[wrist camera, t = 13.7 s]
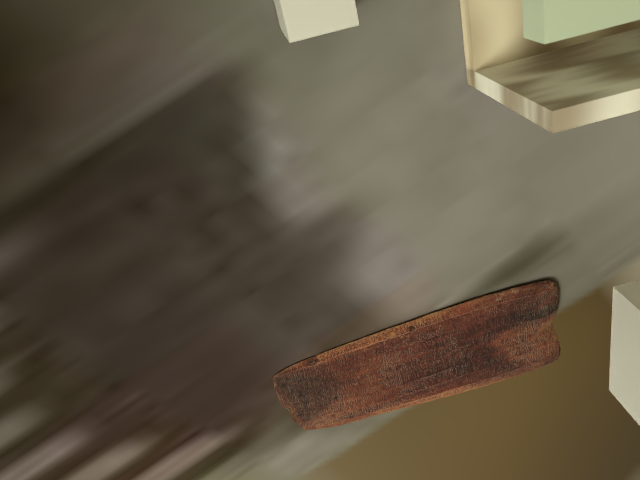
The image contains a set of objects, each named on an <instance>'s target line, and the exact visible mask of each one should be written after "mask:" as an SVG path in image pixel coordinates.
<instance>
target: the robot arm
mask: <svg viewBox="0 0 640 480" xmlns="http://www.w3.org/2000/svg"><path fill="white" fill-rule="evenodd" d="M609 390H610V392H611V393H612V394H613V395H614V396H615V397H616V399H617V400H618V401H619V402H620V403H621V404H622V405H623V407H624V408H625V409H626V410H627V411H628V413H629V414H630V415H631V416H632V417H633V418H634V420H636V422H637V423H638V424H639V425H640V280H637V281H633V282H629V283H626V284H622V285H618V286H615V287H613V302H612V329H611V353H610V381H609Z"/></svg>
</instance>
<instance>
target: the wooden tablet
mask: <svg viewBox="0 0 640 480" xmlns="http://www.w3.org/2000/svg"><path fill="white" fill-rule="evenodd" d="M558 294H559V293H558V287H557V284H556V283H554V282H553V281H551V280H545V281H542V282H537V283H532V284H528V285H524V286H520V287H515V288H511V289H508V290H505V291H502V292H497V293H494V294H489V295H486V296H483V297H480V298H476V299H473V300H470V301H467V302H464V303H461V304H458V305H455V306H452V307H449V308H446V309H443V310H440V311H437V312H434V313H431V314H428V315H426V316H423V317H420V318H418V319H415V320H412V321H409V322H406V323H404V324H401V325H398V326H395V327H392V328H389V329H386V330H383V331H381V332H378V333H375V334H372V335H369V336H367V337H364V338H361V339H359V340H356V341H353V342H350V343H347V344H345V345H342V346H340V347H337V348H334V349H331V350H329V351H326V352H323V353H321V354H319V355H317V356H315V357H310V358H308V359H306V360H304V361H301V362H299V363H297V364H294V365H292V366H290V367H288V368H286V369H284V370H282V371H281V372H279V373H277V374H276V375H275V376H274V378H273V383H274V388H275V390H276V392H277V394H278V397H279V401H280V403H281V404H282V406H283V407H284V408H287V409H288V410H289V414H290V415H291V417H292V419H293V420H294V421H295V422H297V423H298V424H299V425H301V427H302V428H304V429H319V428H327V427H333V426H339V425H343V424H347V423H352V422H355V421H358V420H362V419H365V418H368V417H371V416H375V415H379V414H382V413H386V412H390V411H394V410H398V409H402V408H406V407H409V406H413V405H417V404H421V403H425V402H429V401H432V400H435V399H439V398H443V397H447V396H451V395H454V394H458V393H462V392H465V391H468V390H473V389H476V388H479V387H483V386H486V385H489V384H493V383H496V382H499V381H502V380H505V379H508V378H512V377H515V376H518V375H521V374H524V373H527V372H530V371H533V370H536V369H539V368H541V367H544V366H546V365H548V364H550V363H552V362H554V361H555V360H557V359H558V357H559V355H560V345H559V341H558V337H557V336H556V333H555V331H554V329H553V325H552V320H553V319H554V317H555V314H556V312H557V309H558V303H559V296H558Z"/></svg>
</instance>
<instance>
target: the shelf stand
mask: <svg viewBox="0 0 640 480" xmlns="http://www.w3.org/2000/svg"><path fill="white" fill-rule="evenodd" d="M460 7H461V18H462V29H463V39H464V50H465V61H466V72H467V83H468V84H469V85H471V86H472V87H474V88H476V89H477V90H479V91H481V92H483V93H484V94H486V95H488V96H490V97H491V98H493V99H495V100H496V101H498V102H500V103H502V104H503V105H505V106H507V107H508V108H510V109H512V110H514V111H515V112H517V113H519V114H520V115H522V116H524V117H526V118H527V119H529V120H531V121H532V122H534V123H536V124H538V125H539V126H541V127H543V128H544V129H546V130H548V131H550V132H551V133H556V132H559V131H563V130H567V129H571V128H574V127H578V126H582V125H586V124H590V123H593V122H597V121H601V120H605V119H608V118H612V117H616V116H620V115H623V114H627V113H631V112H635V111H639V110H640V20H636V21H632V22H629V23H625V24H621V25H617V26H613V27H609V28H606V29H602V30H598V31H594V32H590V33H586V34H583V35H579V36H575V37H571V38H567V39H563V40H560V41H556V42H552V43H548V44H542V43H539V42H535V41H532V40H529V39H526V38H524V33H523V9H522V0H460Z"/></svg>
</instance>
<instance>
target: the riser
mask: <svg viewBox="0 0 640 480" xmlns="http://www.w3.org/2000/svg"><path fill="white" fill-rule="evenodd" d="M274 3H275V7H276V11H277V16H278V20H279V24H280V28H281V30H282V32H283V33H284V35H285V36H286V38H287V39H288V41H289V43H292V42H295V41H299V40H303V39H307V38H311V37H315V36H319V35H323V34H326V33H330V32H334V31H338V30H342V29H346V28H350V27H354V26H357V25H359V22H358V16H357V10H356V5H355V0H274Z"/></svg>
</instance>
